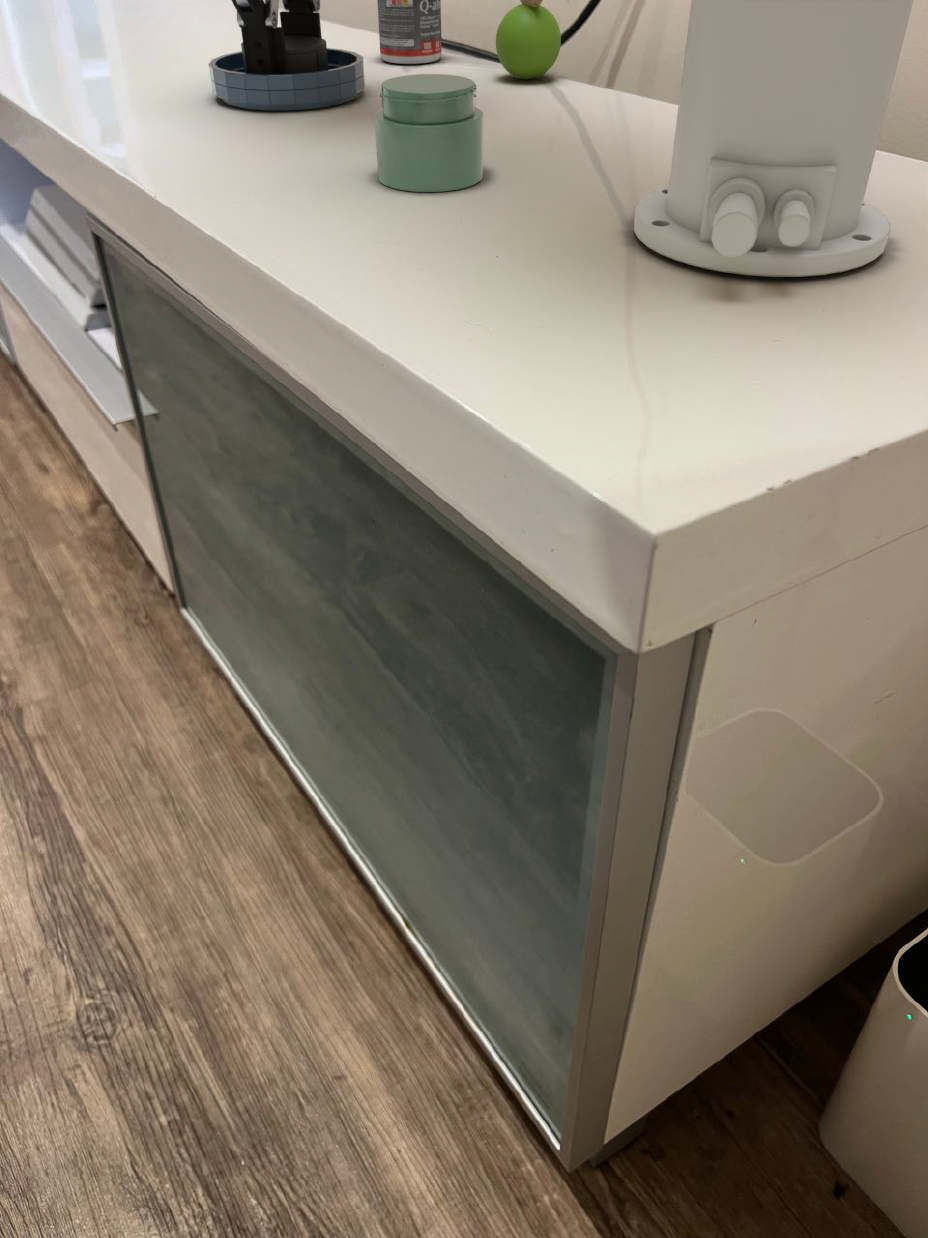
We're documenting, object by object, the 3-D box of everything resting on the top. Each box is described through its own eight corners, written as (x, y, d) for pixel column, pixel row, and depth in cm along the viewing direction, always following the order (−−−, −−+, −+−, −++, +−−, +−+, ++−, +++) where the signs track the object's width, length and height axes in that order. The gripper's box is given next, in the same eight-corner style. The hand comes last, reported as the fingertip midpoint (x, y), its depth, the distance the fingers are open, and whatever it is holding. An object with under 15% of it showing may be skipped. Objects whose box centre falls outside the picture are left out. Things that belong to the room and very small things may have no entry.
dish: (334, 115, 70) (331, 77, 69) (188, 108, 73) (181, 71, 71) (384, 83, 79) (382, 49, 78) (252, 77, 82) (248, 44, 80)
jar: (468, 195, 55) (468, 96, 52) (364, 188, 56) (357, 91, 53) (493, 166, 60) (494, 74, 56) (396, 160, 61) (391, 69, 58)
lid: (345, 66, 76) (343, 39, 75) (293, 80, 72) (290, 52, 70) (281, 58, 79) (278, 32, 77) (227, 72, 74) (223, 44, 73)
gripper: (256, -218, 71) (286, 56, 83) (140, -227, 58) (195, 99, 70) (350, -219, 70) (367, 59, 81) (253, -229, 57) (289, 104, 68)
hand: (287, 75), depth 75 cm, fingers closed on lid, 6 cm apart
